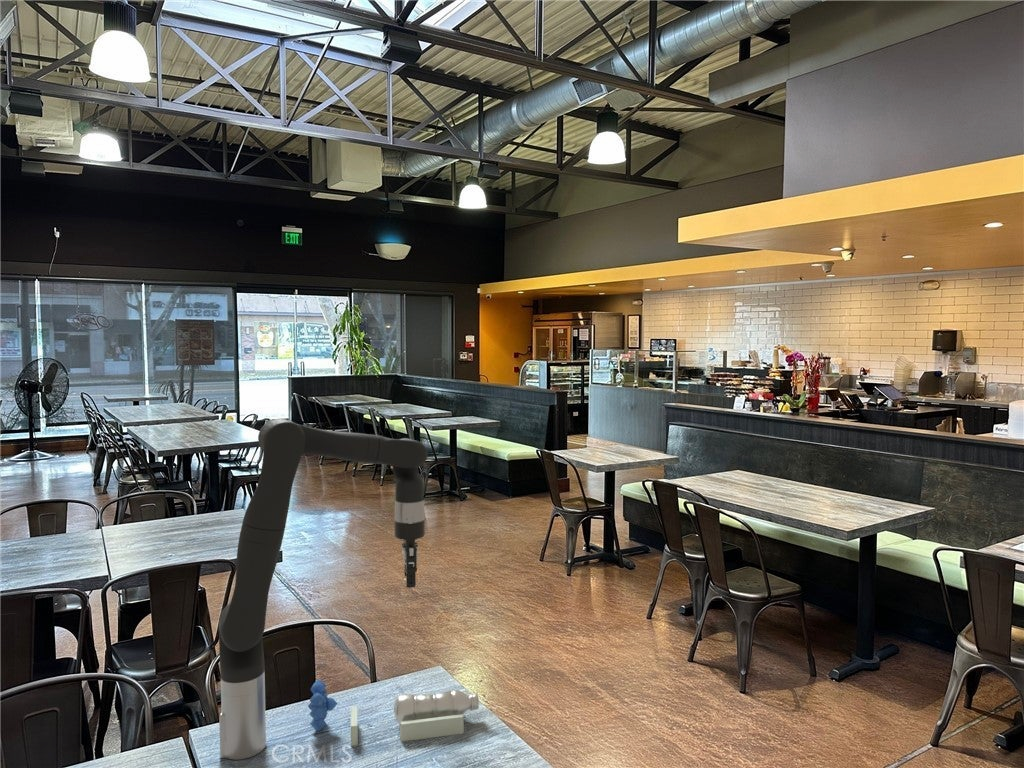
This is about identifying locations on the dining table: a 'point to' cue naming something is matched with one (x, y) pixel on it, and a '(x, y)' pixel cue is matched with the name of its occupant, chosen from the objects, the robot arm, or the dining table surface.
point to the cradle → (431, 727)
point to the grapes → (320, 705)
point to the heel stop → (354, 726)
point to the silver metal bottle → (434, 705)
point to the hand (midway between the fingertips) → (409, 581)
